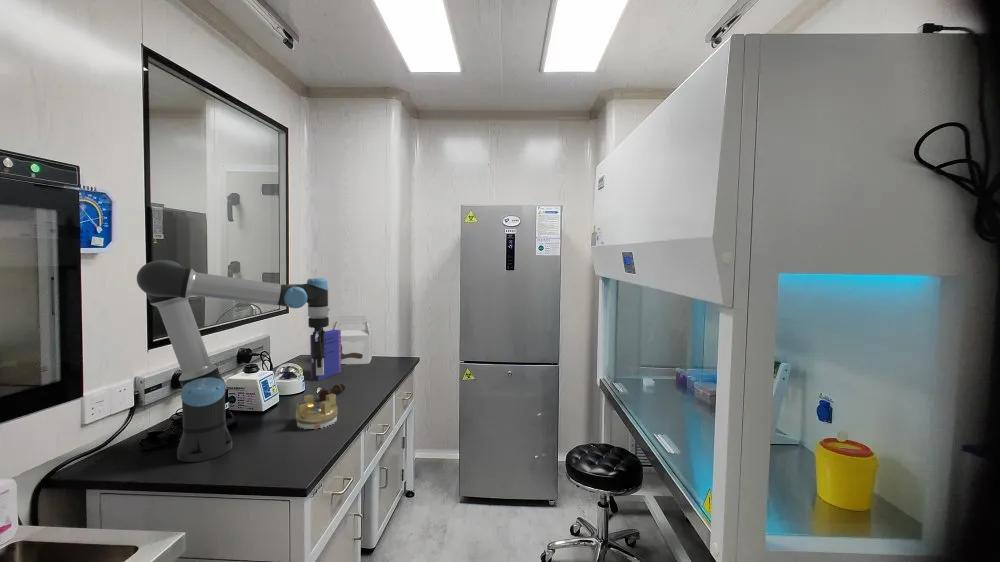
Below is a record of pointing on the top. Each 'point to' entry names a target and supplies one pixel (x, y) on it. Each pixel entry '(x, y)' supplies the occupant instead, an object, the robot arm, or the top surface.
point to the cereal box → (328, 355)
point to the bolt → (331, 391)
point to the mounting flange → (318, 425)
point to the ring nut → (316, 410)
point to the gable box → (356, 339)
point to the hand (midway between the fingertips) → (320, 374)
